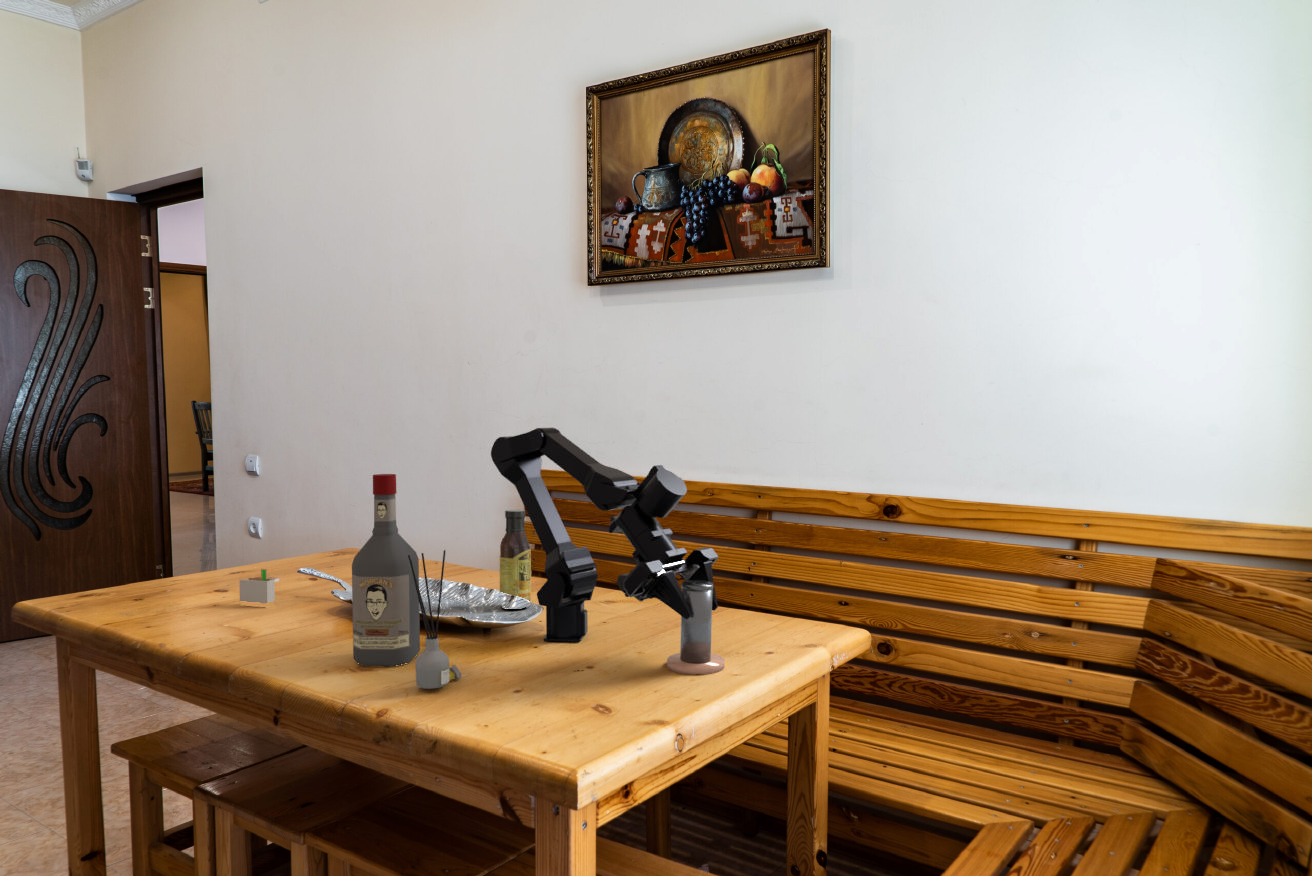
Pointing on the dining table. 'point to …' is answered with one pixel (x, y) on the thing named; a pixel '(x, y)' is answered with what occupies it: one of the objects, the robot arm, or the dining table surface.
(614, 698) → the dining table surface
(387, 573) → the liquor
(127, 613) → the dining table surface
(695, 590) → the canister
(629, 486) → the robot arm
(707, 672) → the soap bar
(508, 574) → the sauce bottle
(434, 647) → the reed diffuser
